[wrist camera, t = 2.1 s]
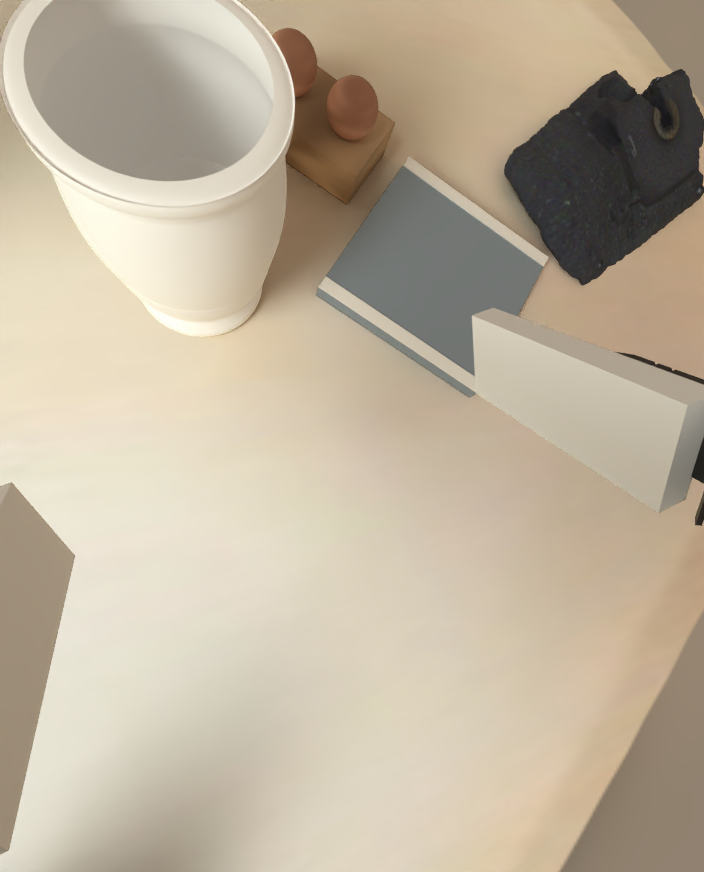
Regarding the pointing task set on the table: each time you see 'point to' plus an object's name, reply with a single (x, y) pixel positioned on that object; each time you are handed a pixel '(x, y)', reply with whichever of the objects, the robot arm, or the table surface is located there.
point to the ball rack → (331, 121)
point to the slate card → (431, 273)
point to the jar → (160, 143)
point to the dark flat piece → (611, 170)
